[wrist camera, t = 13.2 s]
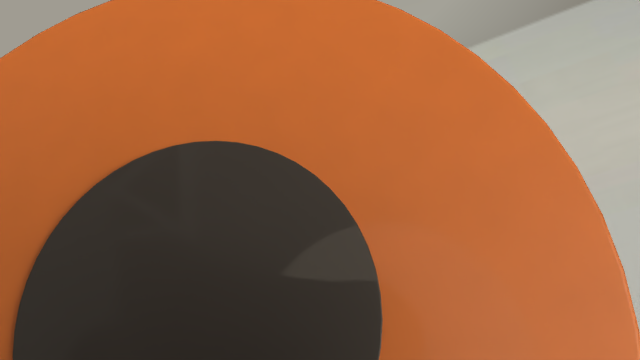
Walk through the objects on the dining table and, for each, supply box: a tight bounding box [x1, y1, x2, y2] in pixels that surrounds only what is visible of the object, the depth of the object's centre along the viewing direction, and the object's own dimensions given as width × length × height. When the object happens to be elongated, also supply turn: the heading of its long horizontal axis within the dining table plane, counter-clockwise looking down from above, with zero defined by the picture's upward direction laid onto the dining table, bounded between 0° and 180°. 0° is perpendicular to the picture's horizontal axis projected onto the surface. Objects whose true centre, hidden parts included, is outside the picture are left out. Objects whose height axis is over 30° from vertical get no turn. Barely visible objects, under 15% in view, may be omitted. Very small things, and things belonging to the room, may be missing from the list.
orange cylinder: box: [0, 0, 640, 360], centre depth 8 cm, size 6×6×10 cm
